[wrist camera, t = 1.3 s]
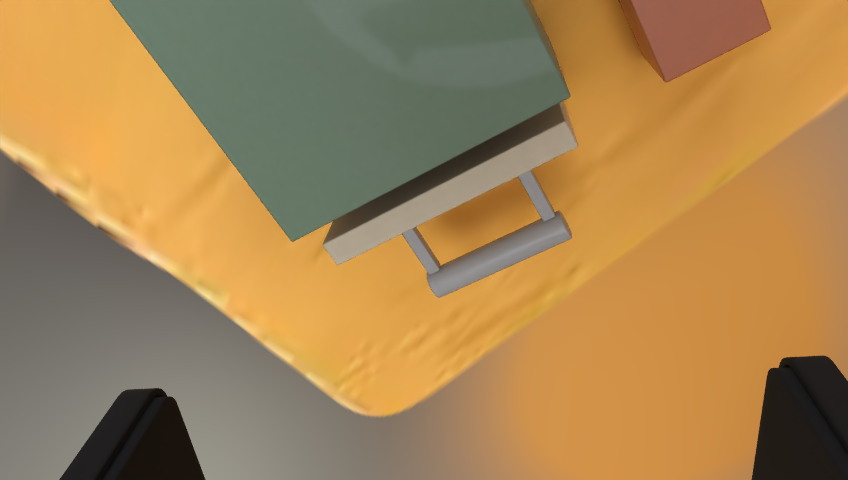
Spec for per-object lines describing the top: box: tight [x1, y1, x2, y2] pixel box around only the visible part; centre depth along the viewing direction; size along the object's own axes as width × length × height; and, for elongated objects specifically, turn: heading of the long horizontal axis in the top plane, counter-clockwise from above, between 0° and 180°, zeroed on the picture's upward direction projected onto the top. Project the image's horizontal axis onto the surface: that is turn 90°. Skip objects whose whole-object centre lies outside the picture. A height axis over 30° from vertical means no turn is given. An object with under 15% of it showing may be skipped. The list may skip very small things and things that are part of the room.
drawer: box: [323, 101, 578, 298], centre depth 29 cm, size 18×11×7 cm, turn 31°
